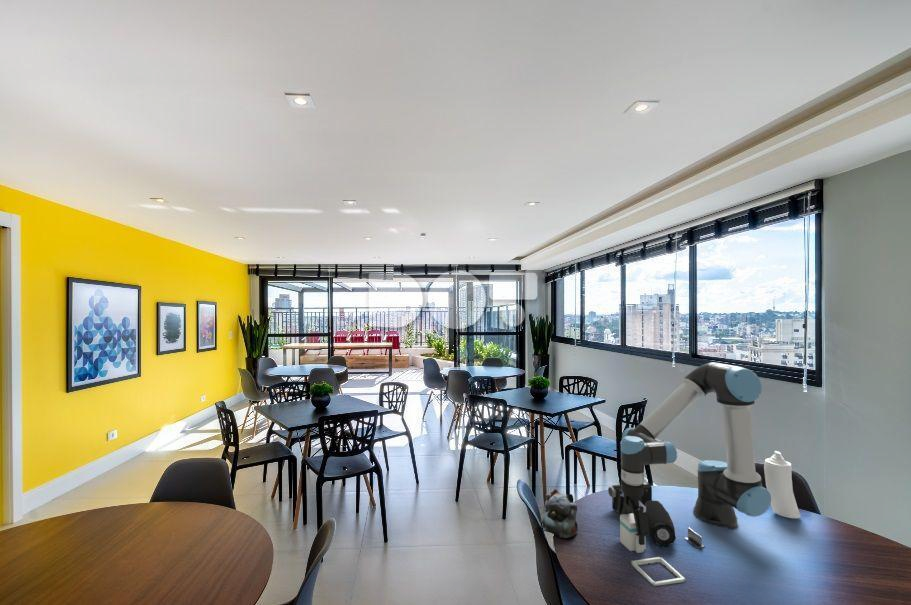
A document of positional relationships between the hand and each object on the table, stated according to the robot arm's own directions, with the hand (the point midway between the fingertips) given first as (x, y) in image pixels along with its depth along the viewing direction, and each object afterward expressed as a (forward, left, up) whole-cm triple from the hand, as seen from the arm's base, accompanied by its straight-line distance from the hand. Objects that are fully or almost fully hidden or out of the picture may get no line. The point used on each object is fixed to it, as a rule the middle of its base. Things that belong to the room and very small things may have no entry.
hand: (632, 545), depth 144 cm
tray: (+2, +15, 0) cm, 16 cm away
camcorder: (-16, -17, -1) cm, 23 cm away
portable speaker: (-11, +2, -2) cm, 11 cm away
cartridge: (0, 0, 0) cm, 0 cm away
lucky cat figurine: (+21, -15, -1) cm, 26 cm away
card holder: (-23, +3, 0) cm, 23 cm away
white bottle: (-75, -8, 0) cm, 75 cm away
